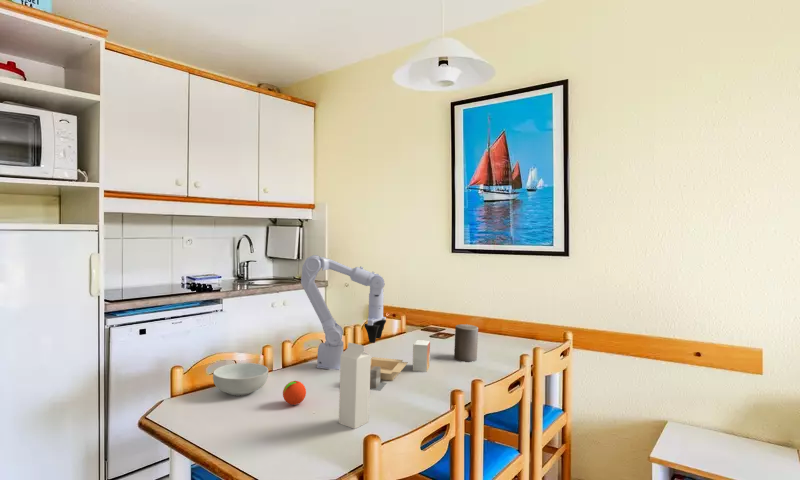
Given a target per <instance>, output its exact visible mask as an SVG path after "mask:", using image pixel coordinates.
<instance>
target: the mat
mask: <svg viewBox="0 0 800 480" xmlns="http://www.w3.org/2000/svg"><path fill="white" fill-rule="evenodd" d="M386 385H387V382H381V381H380V385H379V386H378V387H377V388H370V391H378V392H379V391H381V390H382V389H383V388H384V387H385V386H386Z"/></svg>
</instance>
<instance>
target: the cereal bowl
mask: <svg viewBox="0 0 800 480" xmlns="http://www.w3.org/2000/svg"><path fill="white" fill-rule="evenodd" d="M268 376H269V368H268V367H267V366H266V365H264V364H259V363H254V362H253V363H252V362H237V363H230V364H225V365H222V366H219V367H217V368H216V369H215V370H213V373H212V381H213V384H214V385H215V387H216V389H218V390H219V391H221V392H222V393H223V392H224V393H227V394H228V395H230V396H235V395H236V396H237V397H238V396H239V397H240V395H241V396H247V395H250V394H252V393H253V392H256V391H258V390H260V389H261V388H262V387H263V386H264V385H265V384H266V382H267V380H268Z"/></svg>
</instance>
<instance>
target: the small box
mask: <svg viewBox="0 0 800 480" xmlns="http://www.w3.org/2000/svg"><path fill="white" fill-rule="evenodd" d="M412 346H413V347H412V348H413V349H412V350H413V351H412V372H420V373H421V372H422V373H428V370H429V368H430V358H431V357H430V354H431V341H430V340H423V339H422V340H421V339H416V340H415V342H414V343H413V345H412Z"/></svg>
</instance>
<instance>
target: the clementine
mask: <svg viewBox="0 0 800 480" xmlns="http://www.w3.org/2000/svg"><path fill="white" fill-rule="evenodd" d="M306 396H307V389H306V387H305V385H304V383H303V382H301V381H298V380H292V381H289V382H288V383H287V384H285V386H284V388H283V390H282V397H283V399H284V401H285V402H286V403H287V404H288V405H291V406H292V405H293V406H296V405H299V404H300V403H302V402H303V401H304V400H305V399H306Z"/></svg>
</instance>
